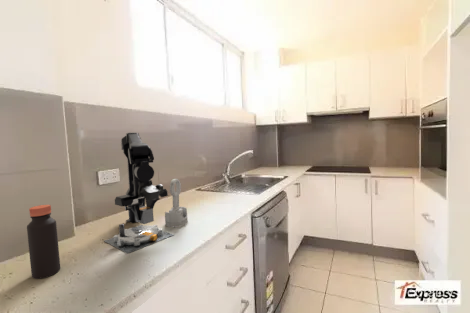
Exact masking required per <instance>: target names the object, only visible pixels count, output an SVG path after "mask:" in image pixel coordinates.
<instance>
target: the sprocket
mask: <svg viewBox="0 0 470 313" xmlns="http://www.w3.org/2000/svg"><path fill="white" fill-rule="evenodd" d="M118 231H119V232H118V234H115V235H113V237H114V241H117V245H119V246H122V245H134V246H137V245H140V244H142V243H146V242H149V241H151V240H152V241H154V240H156V239H157V237H158V235H159V234H162V231H163V228H159V227H158V225H157V224H153V225H147V224H145V225H144V224H141V225H137V226H133V227H129V228H125V224H124V223H120V224H118Z"/></svg>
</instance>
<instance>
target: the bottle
mask: <svg viewBox="0 0 470 313" xmlns="http://www.w3.org/2000/svg"><path fill="white" fill-rule="evenodd" d="M51 215H52V206H51V204H42V205H41V204H40V205H36V206H32V207H30V208H29V216H30V218H31V221H30V222H29V223H28V224H27V226H26V231H27V234H26V235H27V241H28V242H27V243H28V244H27V245H28V253H29V262H30V263H29V264H30V272H31V273H30V274H31V278H33V279H36V280H38V279H45V278H48V277H51V276H52V275H53V276H54V275H55V274H56V273H58V272H60V270H61V260H60V259H61V257H60V249H59V238H58V229H57V228H58V227H57V226H58V225H57V221H56V220H55V219H54V218H53V217H51Z"/></svg>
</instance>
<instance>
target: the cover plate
mask: <svg viewBox="0 0 470 313" xmlns="http://www.w3.org/2000/svg"><path fill="white" fill-rule="evenodd" d="M173 236H174V234H172V233H169V232H167V231H163V230H162V234H159V235H158V237H157V239H156V240H154V241H152V240H151V241H149V242H146V243H142V244H140V245H137V246H134V245H122V246H119V245H117V241H114V236H113V237H111V238H108V239H104V240H103V242H104V243H106V244H108V245H109V246H110V245H111V246H112V247H114V248H116V249H118V250H119V251H122V252H124V253H126V254H130V253H133V252H135V251H138V250H140V249H143V248H145V247H146V248H147V246H151V245H153V244H155V243H157V242H160V241H163V240H165V239H168V238H171V237H173Z"/></svg>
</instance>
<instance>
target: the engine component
mask: <svg viewBox="0 0 470 313" xmlns="http://www.w3.org/2000/svg"><path fill="white" fill-rule="evenodd" d="M175 187H176V189H175ZM181 191H182V184H181V181H180V179H178V178H173V179H171V181H170V183H169V193H170V195H171V198H172V207H171V208H170V209H169V210H168V211H165V212H164V219H165V221H164V222H165V223H164V224H165V226H166V227H168V228H175V227H176V228H177V227H182V226H185V225H187V224H188V223H189V221H188V220H189V219H188V210H187V207H186V206H180V194H181Z"/></svg>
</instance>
